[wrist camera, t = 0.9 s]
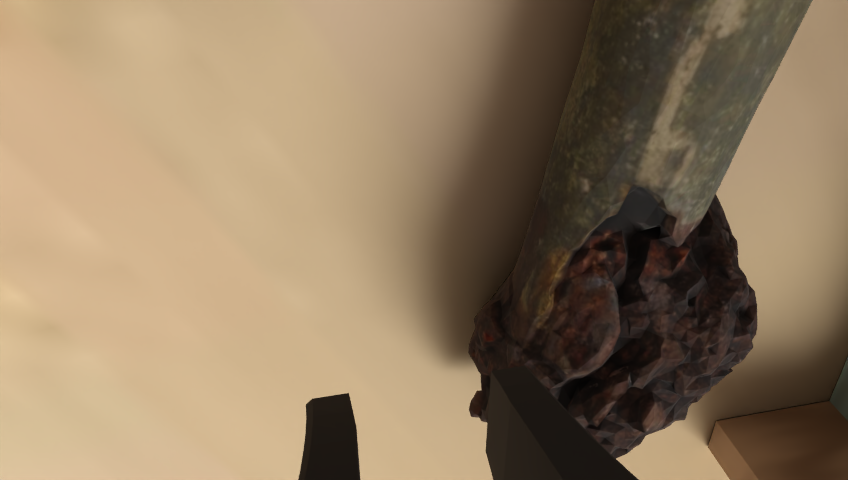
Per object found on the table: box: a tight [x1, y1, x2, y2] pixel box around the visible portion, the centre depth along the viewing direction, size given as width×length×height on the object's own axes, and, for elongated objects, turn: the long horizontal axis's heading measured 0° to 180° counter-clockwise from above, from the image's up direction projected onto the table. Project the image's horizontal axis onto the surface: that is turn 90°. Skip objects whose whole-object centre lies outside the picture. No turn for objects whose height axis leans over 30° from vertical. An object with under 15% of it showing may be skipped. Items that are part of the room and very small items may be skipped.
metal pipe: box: [468, 0, 812, 459], centre depth 19 cm, size 18×7×6 cm, turn 167°
